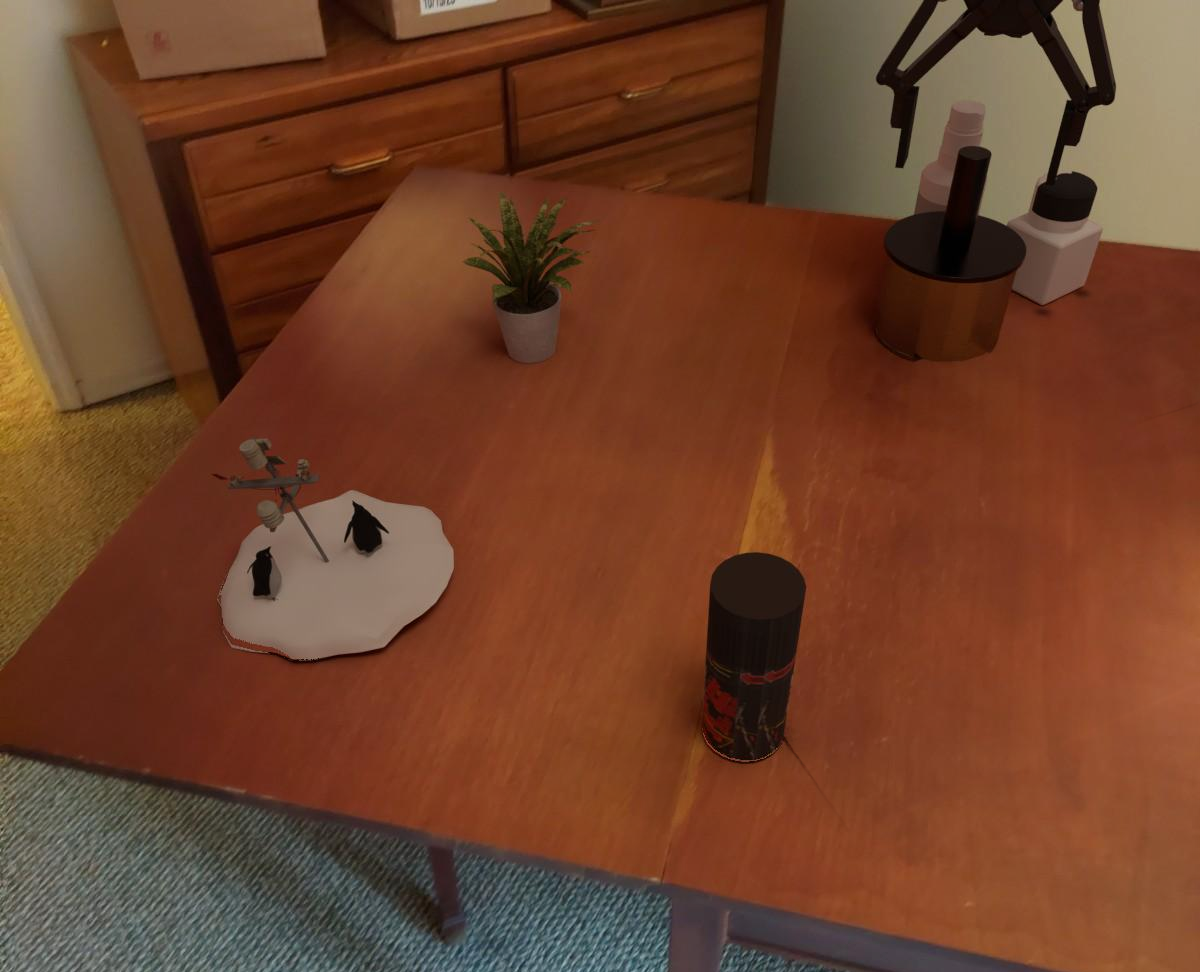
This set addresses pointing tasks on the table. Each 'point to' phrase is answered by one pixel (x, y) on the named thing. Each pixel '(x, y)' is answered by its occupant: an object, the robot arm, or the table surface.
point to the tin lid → (957, 232)
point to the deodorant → (750, 654)
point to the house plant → (528, 280)
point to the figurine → (330, 568)
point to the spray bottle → (950, 155)
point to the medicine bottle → (1057, 237)
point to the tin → (939, 315)
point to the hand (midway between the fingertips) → (974, 170)
